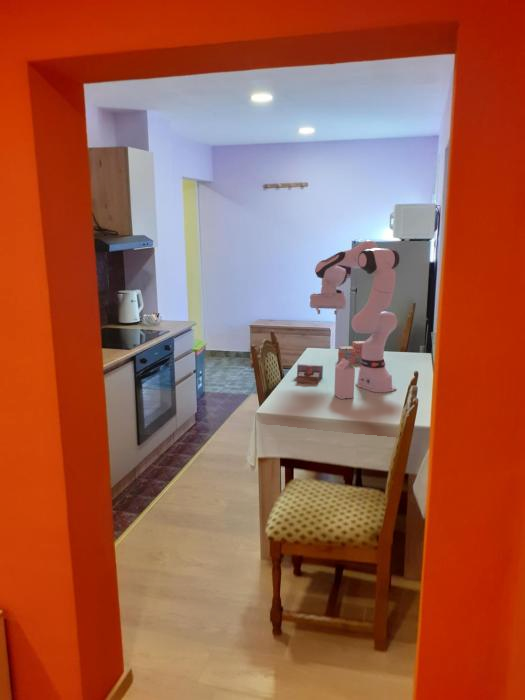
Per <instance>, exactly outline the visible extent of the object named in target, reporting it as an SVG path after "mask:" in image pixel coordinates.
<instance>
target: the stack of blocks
mask: <svg viewBox="0 0 525 700" xmlns="http://www.w3.org/2000/svg"><path fill="white" fill-rule="evenodd" d="M365 341H366V340H361V341H360V340H358V341H356V340H355V341H352V344H351V345H352V346H351V345H350V346H348V345H347V346H338V355H337V356H338V358H337V361H338V362H340V361H341V360H342V358H343V359H345V360H347V361H349V364H351V363H350V362H359V363H361V358H362V351H363V343H364V342H365Z"/></svg>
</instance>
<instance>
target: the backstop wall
mask: <svg viewBox="0 0 525 700" xmlns="http://www.w3.org/2000/svg"><path fill="white" fill-rule="evenodd" d="M308 365H310V366H312V371H315V372H320V375H319V379H323V374H324V372H323V371H324V369H323V368H324V366H323V365H324V364H297V368H296V369H297V370H296V372H297V373H296V377H297V378H298V374H299V371H306V366H308Z"/></svg>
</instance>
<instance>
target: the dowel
mask: <svg viewBox="0 0 525 700" xmlns="http://www.w3.org/2000/svg"><path fill="white" fill-rule="evenodd" d="M307 365H308V366H306V375H312V366H310V365H311V364H307Z"/></svg>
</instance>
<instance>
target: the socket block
mask: <svg viewBox="0 0 525 700" xmlns="http://www.w3.org/2000/svg"><path fill="white" fill-rule="evenodd" d="M319 375H320V372H315V371H312V375H306V371H299V374H298V377H297V384H301V385H302V384H305V385H319V382H320V378H319Z"/></svg>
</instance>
